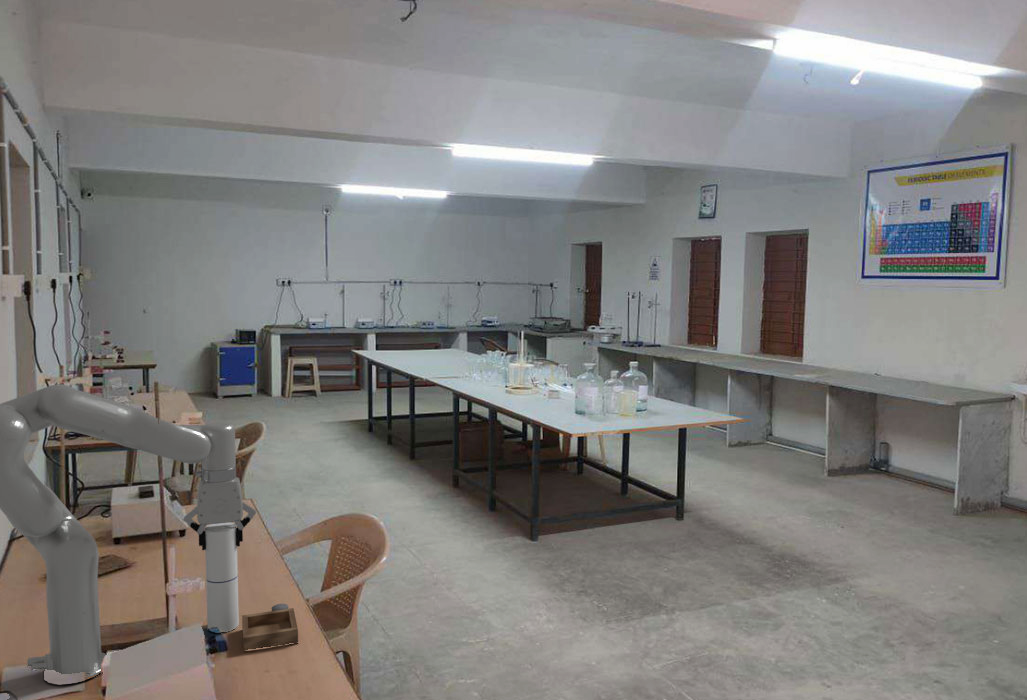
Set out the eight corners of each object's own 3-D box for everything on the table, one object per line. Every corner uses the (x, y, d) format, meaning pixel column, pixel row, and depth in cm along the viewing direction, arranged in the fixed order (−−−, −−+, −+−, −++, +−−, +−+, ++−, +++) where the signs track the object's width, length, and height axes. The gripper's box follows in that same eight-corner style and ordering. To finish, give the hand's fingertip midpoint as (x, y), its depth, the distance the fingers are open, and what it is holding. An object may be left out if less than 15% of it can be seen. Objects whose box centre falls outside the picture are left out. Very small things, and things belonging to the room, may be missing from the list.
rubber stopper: (272, 623, 188) (272, 611, 188) (271, 616, 192) (271, 605, 191) (289, 620, 189) (288, 609, 189) (288, 614, 193) (287, 602, 193)
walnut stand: (243, 652, 173) (243, 637, 173) (242, 629, 185) (242, 615, 184) (298, 643, 178) (297, 629, 177) (293, 621, 189) (293, 608, 189)
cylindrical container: (205, 635, 181) (202, 533, 179) (209, 621, 188) (206, 523, 186) (237, 631, 183) (235, 530, 181) (240, 618, 190) (237, 521, 188)
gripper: (178, 481, 175) (181, 556, 177) (258, 475, 182) (259, 547, 183) (180, 473, 182) (182, 545, 184) (256, 467, 189) (258, 537, 190)
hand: (221, 546), depth 184 cm, fingers closed on cylindrical container, 7 cm apart
